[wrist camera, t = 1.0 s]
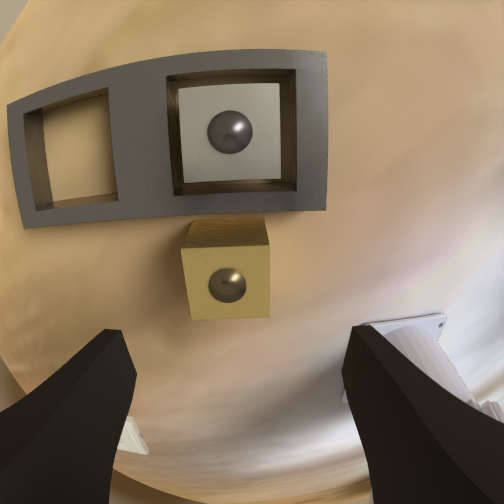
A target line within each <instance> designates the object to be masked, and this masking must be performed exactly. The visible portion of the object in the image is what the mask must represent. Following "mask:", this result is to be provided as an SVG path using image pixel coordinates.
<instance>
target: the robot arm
mask: <svg viewBox="0 0 504 504" xmlns="http://www.w3.org/2000/svg"><path fill="white" fill-rule="evenodd" d="M446 320H447V316H446V315H445V314H444V313H440V314H434V315H428V316H421V317H415V318H408V319H401V320H394V321H386V322H378V323H369V324H365V325H362V326H352V331H351V335H350V339H349V343H348V347H347V352H346V356H345V359H344V363H343V367H342V377H343V382H344V387H345V390H344V394H343V397H342V402H343V403H344V404H349V406H350V409H351V412H352V415H353V418H354V421H355V424H356V427H357V430H358V433H359V436H360V439H361V442H362V446H363V449H364V452H365V455H366V459H367V463H368V469H369V474H370V480H371V486H372V487H371V492H370V501H369V503H370V504H504V410H503V408H502V407H501V405H500V404H499V403H498V402H490V401H486V402H485V403H484V404H483V405H481V406H480V405H479V404H478V403H477V402H476V401H475V399H474V397H473V396H472V394H471V392H470V391H469V389H468V387H467V386H466V384H465V382H464V381H463V379H462V378H461V376H460V375H459V373H458V371H457V370H456V368H455V367H454V365H453V364H452V362H451V361H450V359H449V358H448V356H447V355H446V353H445V352H444V350H443V349H442V347H441V346H440V344H439V343H438V340H439V337H440V335H441V333H442V330H443V327H444V325H445V322H446ZM136 377H137V372H136V370H135V367H134V365H133V362H132V359H131V357H130V354H129V351H128V349H127V346H126V343H125V340H124V337H123V334H122V331H121V330H112V329H104V330H103V331H102V332H100V333H99V334H98V335H97V336H96V337H95V338H93V339H92V340H91V341H90V342H89V343H88V344H87V345H85V346H84V347H83V348H82V349H81V350H80V351H79V352H78V353H77V354H75V355H74V356H73V357H72V358H71V359H70V360H69V361H68V362H67V363H65V364H64V365H63V366H62V367H61V368H60V369H59V370H57V371H56V372H55V373H54V374H53V375H51V376H50V377H49V378H48V379H47V380H45V381H44V382H43V383H42V384H41V385H39V386H38V387H37V388H36V389H34V390H33V391H32V392H30V393H29V394H28V395H26V396H25V397H23V398H22V399H21V400H19V401H18V402H17V403H15V404H13V405H12V406H10V407H9V408H7V409H5V410H3V411H2V412H0V504H109V493H110V483H111V476H112V469H113V463H114V459H115V454H116V451H117V447H118V444H119V441H120V437H121V434H122V431H123V428H124V425H125V421H126V418H127V415H128V412H129V409H130V405H131V402H132V398H133V393H134V388H135V382H136Z"/></svg>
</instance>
